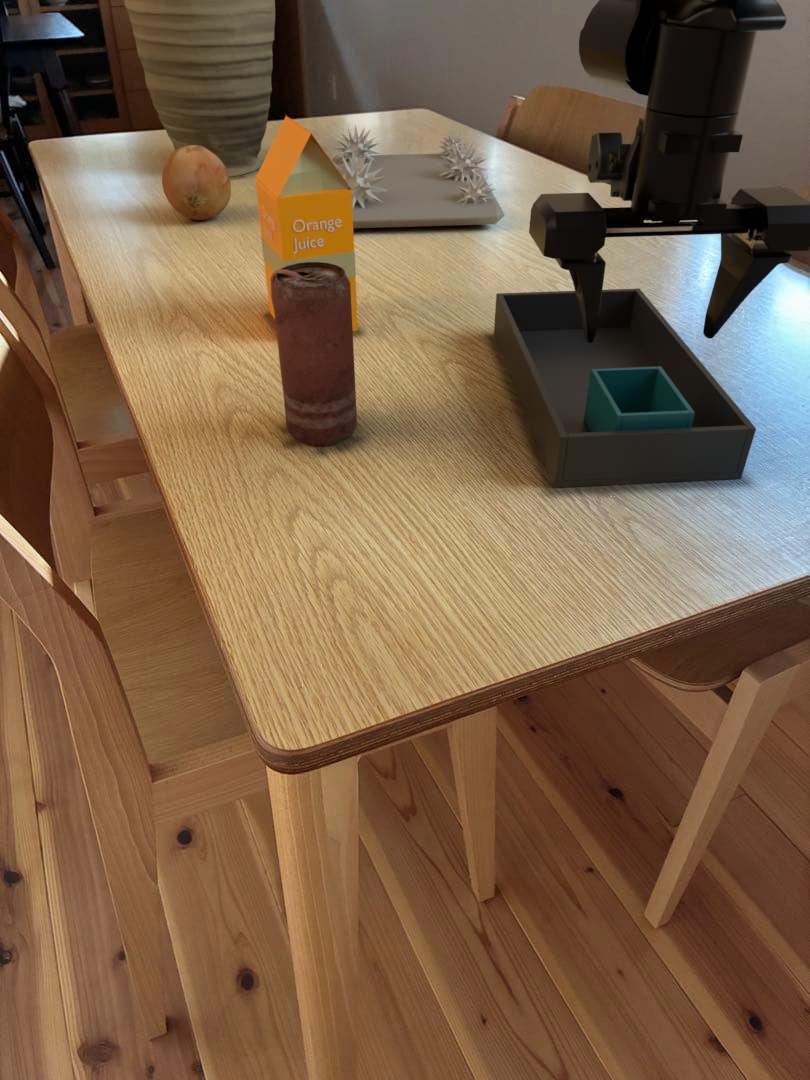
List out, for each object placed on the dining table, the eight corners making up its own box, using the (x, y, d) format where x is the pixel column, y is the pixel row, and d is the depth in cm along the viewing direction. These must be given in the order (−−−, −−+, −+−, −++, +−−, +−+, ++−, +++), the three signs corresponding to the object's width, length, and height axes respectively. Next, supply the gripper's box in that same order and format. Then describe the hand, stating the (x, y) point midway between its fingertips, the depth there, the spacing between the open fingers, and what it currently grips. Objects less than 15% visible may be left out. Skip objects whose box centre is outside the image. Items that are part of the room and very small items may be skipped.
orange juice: (290, 342, 85) (269, 135, 73) (268, 312, 92) (246, 117, 79) (359, 330, 88) (351, 128, 75) (333, 302, 94) (322, 111, 82)
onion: (231, 206, 125) (222, 135, 119) (238, 225, 117) (228, 151, 111) (167, 211, 123) (154, 140, 117) (170, 231, 115) (156, 155, 109)
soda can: (289, 413, 73) (272, 258, 65) (358, 413, 73) (351, 258, 65) (280, 448, 68) (261, 286, 60) (355, 448, 68) (346, 286, 60)
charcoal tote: (632, 329, 87) (639, 288, 84) (741, 478, 64) (756, 428, 62) (493, 335, 86) (496, 293, 84) (554, 487, 64) (560, 437, 61)
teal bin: (650, 418, 71) (661, 366, 68) (681, 467, 65) (695, 412, 62) (583, 421, 71) (590, 368, 67) (608, 471, 64) (617, 415, 61)
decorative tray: (504, 231, 114) (509, 155, 108) (322, 236, 113) (317, 160, 107) (472, 169, 142) (474, 106, 136) (325, 173, 140) (321, 109, 134)
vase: (153, 159, 152) (143, -34, 137) (280, 173, 153) (284, -17, 138) (113, 175, 131) (96, -51, 116) (261, 191, 132) (263, -31, 117)
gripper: (778, 84, 58) (727, 294, 68) (524, 89, 57) (508, 302, 67) (858, 115, 50) (785, 351, 59) (559, 121, 49) (535, 361, 58)
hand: (648, 338), depth 61 cm, fingers open, 9 cm apart
